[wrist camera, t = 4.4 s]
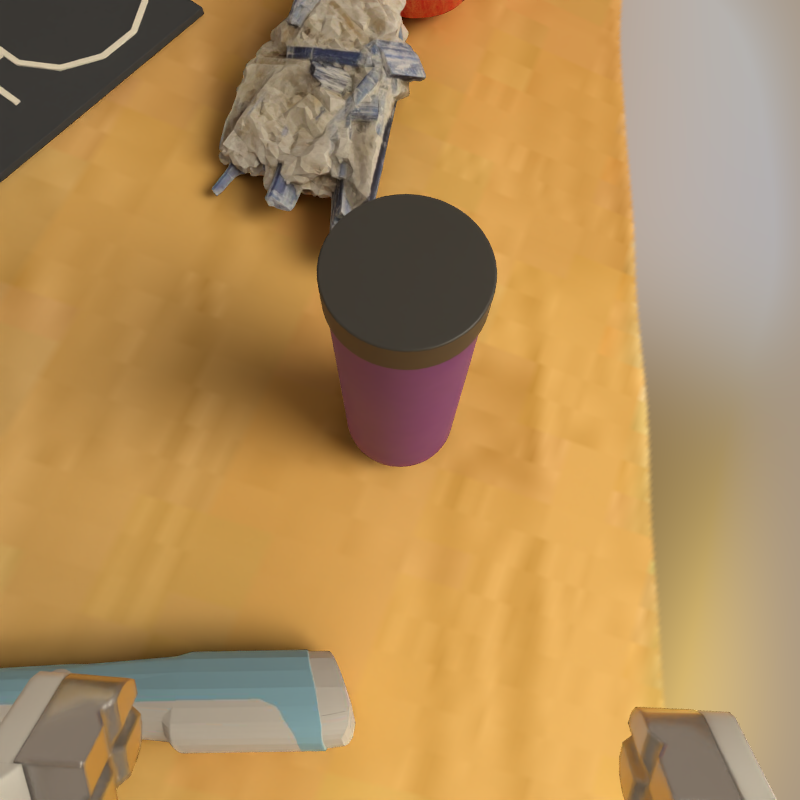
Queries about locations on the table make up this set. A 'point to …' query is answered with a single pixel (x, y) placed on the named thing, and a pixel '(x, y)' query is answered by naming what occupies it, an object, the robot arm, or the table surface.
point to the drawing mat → (72, 61)
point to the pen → (226, 699)
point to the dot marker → (404, 319)
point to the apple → (428, 8)
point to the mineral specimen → (321, 103)
